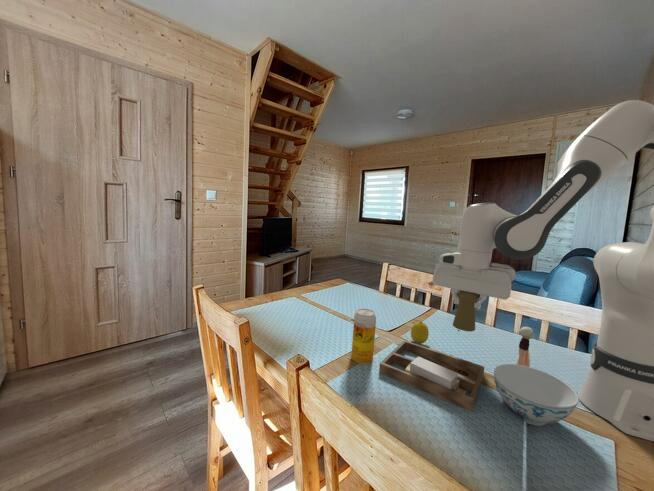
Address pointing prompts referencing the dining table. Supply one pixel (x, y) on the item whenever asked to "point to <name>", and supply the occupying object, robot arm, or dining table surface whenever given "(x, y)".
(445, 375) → the grey offcut
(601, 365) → the robot arm
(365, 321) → the beer can
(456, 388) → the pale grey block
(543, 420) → the chinaware
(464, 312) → the brown tall rounded piece
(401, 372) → the walnut divided tray
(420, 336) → the lemon
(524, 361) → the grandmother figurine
